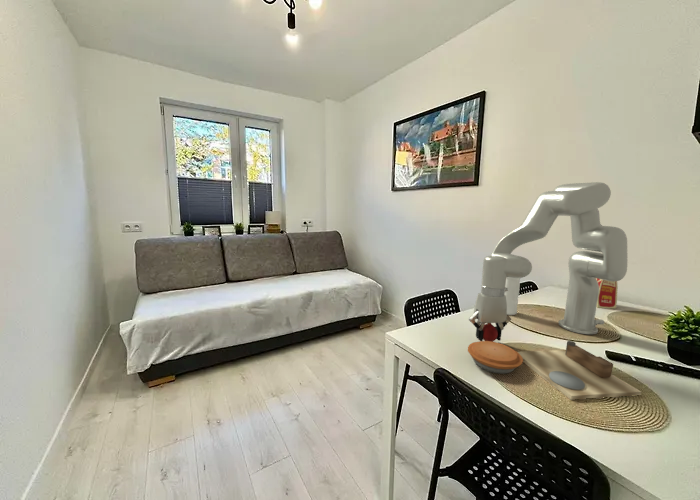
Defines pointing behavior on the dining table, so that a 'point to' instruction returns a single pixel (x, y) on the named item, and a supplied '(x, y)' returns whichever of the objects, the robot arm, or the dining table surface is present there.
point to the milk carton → (607, 294)
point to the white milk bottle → (512, 294)
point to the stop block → (608, 362)
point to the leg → (588, 360)
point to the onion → (489, 332)
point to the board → (593, 383)
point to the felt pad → (566, 380)
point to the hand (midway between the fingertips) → (488, 338)
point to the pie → (494, 356)
